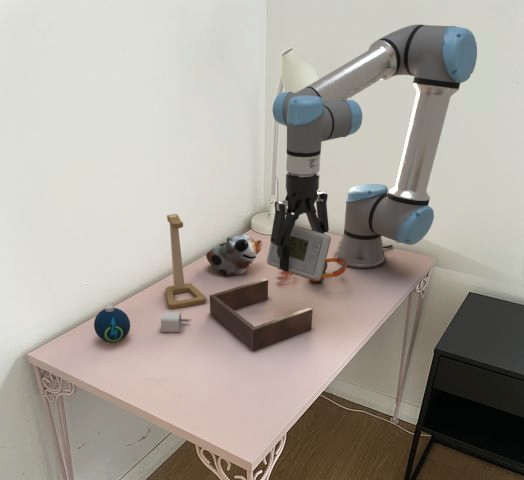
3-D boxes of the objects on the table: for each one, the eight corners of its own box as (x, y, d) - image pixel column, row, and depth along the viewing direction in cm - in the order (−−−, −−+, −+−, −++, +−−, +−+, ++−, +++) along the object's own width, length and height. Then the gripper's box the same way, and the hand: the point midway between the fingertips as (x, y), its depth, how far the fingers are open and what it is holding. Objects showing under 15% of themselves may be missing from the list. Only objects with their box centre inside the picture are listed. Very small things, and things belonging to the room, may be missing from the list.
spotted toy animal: (237, 254, 174) (257, 221, 165) (254, 281, 169) (275, 248, 160) (198, 253, 164) (217, 217, 155) (215, 281, 159) (235, 246, 150)
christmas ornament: (92, 348, 129) (84, 312, 123) (103, 329, 136) (96, 294, 130) (126, 350, 128) (121, 313, 123) (136, 331, 135) (131, 296, 130)
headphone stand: (169, 309, 144) (161, 231, 132) (160, 291, 153) (152, 216, 140) (207, 303, 147) (202, 226, 135) (196, 285, 156) (191, 211, 144)
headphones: (277, 294, 157) (345, 286, 152) (273, 277, 155) (342, 269, 149) (286, 270, 171) (349, 262, 165) (283, 254, 168) (347, 246, 163)
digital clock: (263, 264, 137) (263, 224, 131) (288, 254, 142) (290, 215, 136) (308, 287, 127) (310, 244, 121) (334, 275, 131) (338, 234, 125)
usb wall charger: (165, 324, 138) (163, 311, 136) (192, 325, 138) (191, 311, 136) (162, 332, 135) (160, 319, 133) (189, 333, 135) (188, 319, 132)
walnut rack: (265, 297, 150) (265, 278, 147) (311, 329, 136) (312, 309, 133) (210, 315, 142) (209, 295, 139) (253, 351, 128) (253, 330, 125)
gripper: (273, 185, 113) (272, 281, 126) (349, 168, 123) (341, 260, 136) (253, 176, 118) (254, 269, 131) (328, 161, 128) (322, 249, 141)
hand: (299, 264), depth 134 cm, fingers closed on digital clock, 8 cm apart
